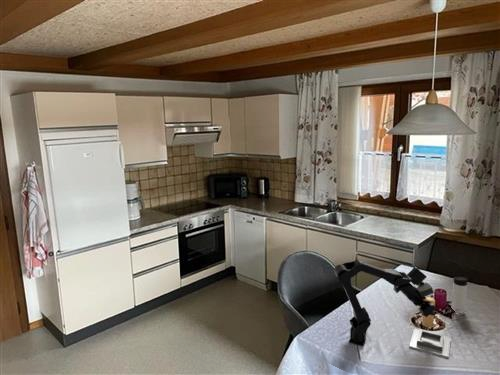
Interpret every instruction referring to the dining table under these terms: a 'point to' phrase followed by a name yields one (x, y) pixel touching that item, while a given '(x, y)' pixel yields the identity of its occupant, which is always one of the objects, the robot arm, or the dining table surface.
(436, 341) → the socket
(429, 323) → the rounded tan peg
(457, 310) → the travel mug
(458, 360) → the dining table surface
